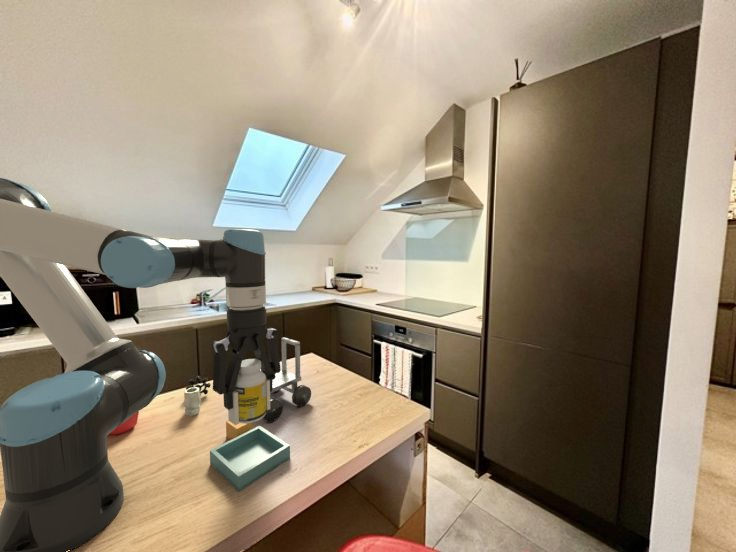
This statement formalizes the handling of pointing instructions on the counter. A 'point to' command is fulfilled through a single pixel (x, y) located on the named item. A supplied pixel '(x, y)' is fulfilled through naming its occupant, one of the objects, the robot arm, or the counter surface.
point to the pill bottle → (251, 391)
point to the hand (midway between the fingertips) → (250, 414)
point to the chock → (237, 429)
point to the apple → (126, 425)
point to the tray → (249, 457)
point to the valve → (194, 396)
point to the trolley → (285, 379)
